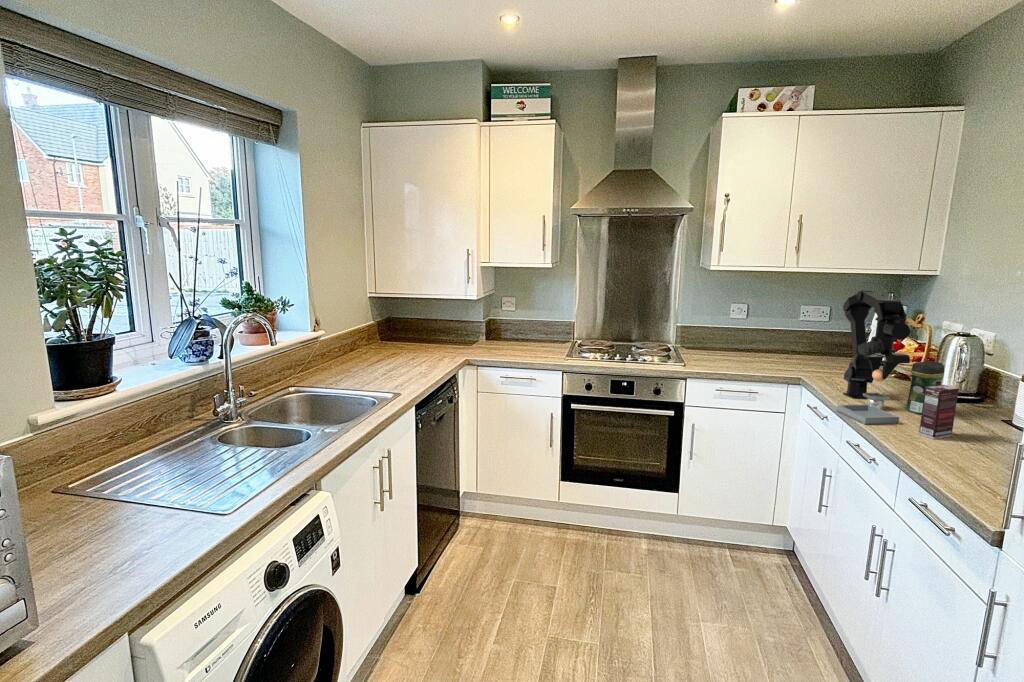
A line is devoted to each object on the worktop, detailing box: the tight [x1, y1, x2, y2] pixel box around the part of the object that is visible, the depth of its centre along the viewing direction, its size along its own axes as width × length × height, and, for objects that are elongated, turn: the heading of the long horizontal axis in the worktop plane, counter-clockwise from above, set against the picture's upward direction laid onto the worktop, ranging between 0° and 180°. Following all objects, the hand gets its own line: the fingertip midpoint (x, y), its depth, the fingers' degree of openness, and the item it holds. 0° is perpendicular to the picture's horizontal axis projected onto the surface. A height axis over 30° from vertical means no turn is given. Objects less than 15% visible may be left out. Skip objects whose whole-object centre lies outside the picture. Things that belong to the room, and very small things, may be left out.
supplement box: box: [918, 384, 959, 440], centre depth 170 cm, size 9×5×16 cm, turn 109°
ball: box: [872, 368, 886, 382], centre depth 197 cm, size 4×4×4 cm
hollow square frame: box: [863, 392, 891, 411], centre depth 199 cm, size 6×6×5 cm
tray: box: [836, 403, 900, 426], centre depth 188 cm, size 14×12×2 cm
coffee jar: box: [905, 360, 945, 415], centre depth 194 cm, size 10×8×19 cm
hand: (879, 377), depth 197 cm, fingers closed on ball, 4 cm apart
